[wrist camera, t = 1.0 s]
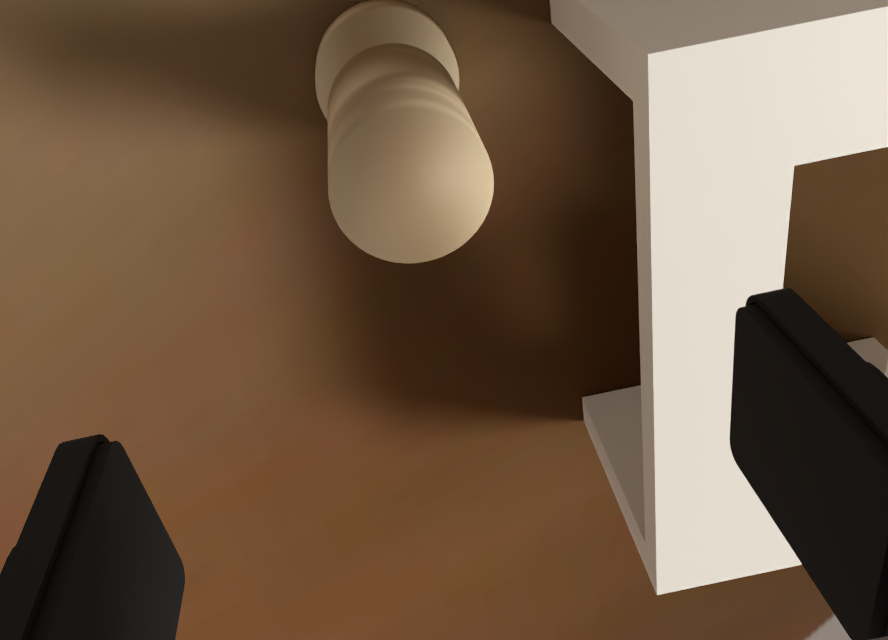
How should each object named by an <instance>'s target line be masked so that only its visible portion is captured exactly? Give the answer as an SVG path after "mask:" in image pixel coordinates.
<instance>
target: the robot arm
mask: <svg viewBox="0 0 888 640" xmlns="http://www.w3.org/2000/svg"><path fill="white" fill-rule="evenodd" d="M730 448H731V452H732V455H733V458H734V460H735V462H736V464H737V466H738V467H739V469H740V470H741V472H742V473H743V475H744V476H745V478H746V479H747V481H748V482H749V484H750V485H751V487H752V488H753V490H754V492H755V493H756V495H757V496H758V498H759V499H760V501H761V502H762V504H763V505H764V507H765V508H766V510H767V511H768V513H769V514H770V516H771V518H772V519H773V521H774V522H775V524H776V525H777V527H778V528H779V530H780V531H781V533H782V534H783V536H784V537H785V539H786V540H787V542H788V543H789V545H790V547H791V548H792V550H793V551H794V553H795V554H796V556H797V557H798V559H799V560H800V562H801V563H802V565H803V566H804V568H805V569H806V571H807V573H808V574H809V576H810V577H811V579H812V580H813V582H814V583H815V585H816V586H817V588H818V589H819V591H820V592H821V594H822V595H823V597H824V599H825V600H826V602H827V603H828V605H829V606H830V608H831V609H832V611H833V612H834V614H835V615H836V617H837V618H838V620H839V621H840V623H841V624H842V626H843V627H844V629H845V631H846V632H847V634H848V635H849V637H850V638H851V639H852V640H888V378H887V377H886V376H885V375H884V374H883V373H882V372H881V371H880V370H879V369H878V368H877V367H875V366H874V365H873V364H871V363H870V362H866V361H865V360H864V359H863V358H862V357H861V356H860V355H859V354H858V353H857V352H856V351H855V350H854V349H852V348H851V347H850V346H849V345H848V344H847V343H846V342H845V341H844V340H843V339H842V338H841V337H840V336H839V335H838V334H837V333H836V332H835V331H834V330H833V329H832V328H831V327H830V326H829V325H828V324H827V323H826V322H825V321H824V320H823V319H822V318H821V317H820V316H819V315H818V314H817V313H816V312H815V311H814V310H813V309H812V308H811V307H810V306H809V305H808V304H807V303H806V302H805V301H804V300H803V299H802V298H801V297H800V296H799V295H797V294H796V293H795V292H794V291H793V290H792V289H790V288H783V289H779V290H774V291H769V292H764V293H760V294H755V295H751V296H750V297H748V299H747V301H746V306H745V307H740V308H739V309H738V310H737V312H736V317H735V337H734V358H733V379H732V399H731V420H730ZM184 584H185V573H184V567H183V563H182V561H181V558H180V556H179V554H178V552H177V551H176V549H175V547H174V545H173V543H172V541H171V539H170V537H169V535H168V533H167V531H166V529H165V527H164V525H163V523H162V521H161V519H160V518H159V516H158V514H157V512H156V510H155V508H154V506H153V504H152V502H151V500H150V498H149V496H148V494H147V492H146V490H145V488H144V486H143V485H142V483H141V481H140V479H139V477H138V475H137V473H136V471H135V469H134V467H133V465H132V463H131V461H130V459H129V457H128V455H127V454H126V452H125V450H124V448H123V446H122V445H121V443H119V442H118V441H113V442H109V440H108V439H107V438H106V437H105V436H104V435H100V434H99V435H94V436H89V437H85V438H80V439H75V440H70V441H66V442H62V443H61V444H59V446H58V447H57V449H56V451H55V453H54V456H53V458H52V460H51V463H50V465H49V468H48V470H47V472H46V475H45V477H44V480H43V482H42V484H41V487H40V489H39V492H38V494H37V496H36V499H35V501H34V504H33V506H32V508H31V511H30V513H29V516H28V518H27V520H26V523H25V525H24V528H23V530H22V532H21V535H20V537H19V540H18V542H17V544H16V546H15V547H14V548H13V549H12V551H11V552H10V554H9V556H8V557H7V560H6V562H5V565H4V567H3V569H2V572H1V574H0V640H175V637H176V631H177V625H178V620H179V614H180V608H181V602H182V597H183V591H184Z"/></svg>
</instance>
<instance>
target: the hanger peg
mask: <svg viewBox="0 0 888 640" xmlns="http://www.w3.org/2000/svg"><path fill="white" fill-rule="evenodd" d="M315 88H316V94H317V99H318V102H319V105H320V108H321V110H322V112H323V114H324V116H325V118H326V119H327V121H328V197H329V202H330V207H331V210H332V213H333V216H334V218H335V220H336V222H337V224H338V226H339V227H340V229H341V230H342V231H343V233H344V234H345V235H346V236H347V237H348V239H349V240H350V241H351V242H353V243H354V244H355V245H356V246H357V247H358V248H360V249H362V250H363V251H365V252H366V253H368V254H370V255H372V256H374V257H377V258H380V259H383V260H386V261H390V262H395V263H421V262H427V261H431V260H434V259H438V258H440V257H443V256H445V255H447V254H449V253H451V252H453V251H455V250H456V249H458V248H459V247H461V246H462V245H463V244H464V243H466V242H467V241H468V240H469V239H470V238H471V237H472V236H473V235H474V234H475V233H476V231H477V230H478V229H479V227H480V226H481V224H482V223H483V221H484V219H485V217H486V216H487V214H488V211H489V208H490V205H491V202H492V197H493V190H494V177H493V170H492V165H491V162H490V159H489V156H488V154H487V152H486V149H485V147H484V145H483V143H482V141H481V139H480V137H479V135H478V132H477V130H476V128H475V126H474V124H473V122H472V120H471V117H470V115H469V113H468V111H467V109H466V107H465V105H464V103H463V100H462V98H461V96H460V94H459V92H458V91H459V70H458V65H457V61H456V58H455V55H454V53H453V50H452V48H451V47H450V45H449V43H448V41H447V39H446V37H445V35H444V33H443V31H442V30H441V29H440V27H439V26H438V24H437V23H436V22H435V21H434V20H433V19H432V18H431V17H430V16H429V15H428V14H426V13H425V12H424V11H423V10H421V9H419V8H418V7H416V6H414V5H412V4H409V3H407V2H404V1H400V0H368V1H364V2H361V3H358V4H356V5H354V6H352V7H350V8H348V9H347V10H345V11H344V12H343V13H341V14H340V15H339V16H338V17H337V18H336V19H335V20H334V21H333V22H332V23H331V24H330V26H329V27H328V29H327V30H326V32H325V33H324V35H323V37H322V39H321V42H320V45H319V48H318V52H317V56H316V69H315Z"/></svg>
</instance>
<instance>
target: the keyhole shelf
mask: <svg viewBox="0 0 888 640" xmlns="http://www.w3.org/2000/svg"><path fill="white" fill-rule="evenodd" d="M550 11H551V23H552V24H553V25H554V26H555V27H556V28H557V29H558V30H559V31H560V32H561V33H562V34H563V35H564V36H565V37H566V38H567V39H568V40H570V41H571V42H572V43H573V44H574V45H575V46H576V47H577V48H578V49H579V50H580V51H581V52H582V53H583V54H584V55H585V56H586V57H587V58H588V59H589V60H590V61H592V62H593V63H594V64H595V65H596V66H597V67H598V68H599V69H600V70H601V71H602V72H603V73H604V74H605V75H606V76H607V77H608V78H609V79H610V80H611V81H612V82H614V83H615V84H616V85H617V86H618V87H619V88H620V89H621V90H622V91H623V92H624V93H625V94H626V95H627V96H628V97H629V98H630V99H631V100H632V101H633V117H634V153H635V189H636V225H637V262H638V298H639V334H640V370H641V385H639V386H634V387H630V388H625V389H620V390H615V391H610V392H605V393H601V394H596V395H591V396H586V397H582V403H583V416H584V423H585V425H586V427H587V430H588V432H589V435H590V437H591V439H592V442H593V444H594V446H595V449H596V451H597V454H598V456H599V458H600V461H601V463H602V466H603V468H604V470H605V473H606V475H607V477H608V480H609V482H610V485H611V487H612V489H613V492H614V494H615V497H616V499H617V501H618V504H619V506H620V508H621V511H622V513H623V516H624V518H625V520H626V523H627V525H628V528H629V530H630V532H631V535H632V537H633V539H634V542H635V544H636V547H637V549H638V551H639V554H640V556H641V559H642V561H643V563H644V566H645V568H646V570H647V573H648V575H649V578H650V580H651V582H652V585H653V587H654V590H655V592H656V594H657V595H660V594H665V593H669V592H674V591H679V590H684V589H688V588H693V587H698V586H702V585H707V584H712V583H717V582H721V581H726V580H731V579H736V578H740V577H745V576H750V575H755V574H759V573H764V572H769V571H774V570H778V569H783V568H788V567H793V566H797V565H802V563H801V562H800V560H799V559H798V557H797V556H796V554H795V553H794V551H793V550H792V548H791V547H790V545H789V543H788V542H787V540H786V539H785V537H784V536H783V534H782V533H781V531H780V530H779V528H778V527H777V525H776V524H775V522H774V521H773V519H772V518H771V516H770V514H769V513H768V511H767V510H766V508H765V507H764V505H763V504H762V502H761V501H760V499H759V498H758V496H757V495H756V493H755V492H754V490H753V488H752V487H751V485H750V484H749V482H748V481H747V479H746V478H745V476H744V475H743V473H742V472H741V470H740V469H739V467H738V466H737V464H736V462H735V460H734V458H733V455H732V452H731V448H730V420H731V399H732V379H733V358H734V337H735V317H736V312H737V310H738V309H739V308H740V307H745V306H746V301H747V299H748V297H750V296H751V295H755V294H760V293H764V292H769V291H774V290H779V289H783V281H784V271H785V260H786V249H787V238H788V227H789V216H790V206H791V195H792V184H793V173H794V166H795V165H800V164H805V163H810V162H815V161H820V160H825V159H830V158H835V157H840V156H845V155H850V154H855V153H859V152H864V151H869V150H874V149H879V148H884V147H888V0H550ZM847 344H848V345H849V346H850V347H851V348H852V349H854V350H855V351H856V352H857V353H858V354H859V355H860V356H861V357H862V358H863V359H864V360H865V361H866V362H870V363H871V364H873V365H874V366H875V367H877V368H878V369H879V370H880V371H881V372H882V373H883V374H884V375H885V376H886V377H887V378H888V350H887V349H886V348H885V347H883V346H882V345H881V344H880V343H879V342H878V341H877V340H876V339H875V338H874V337H872V338H867V339H862V340H857V341H852V342H848V343H847Z"/></svg>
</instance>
